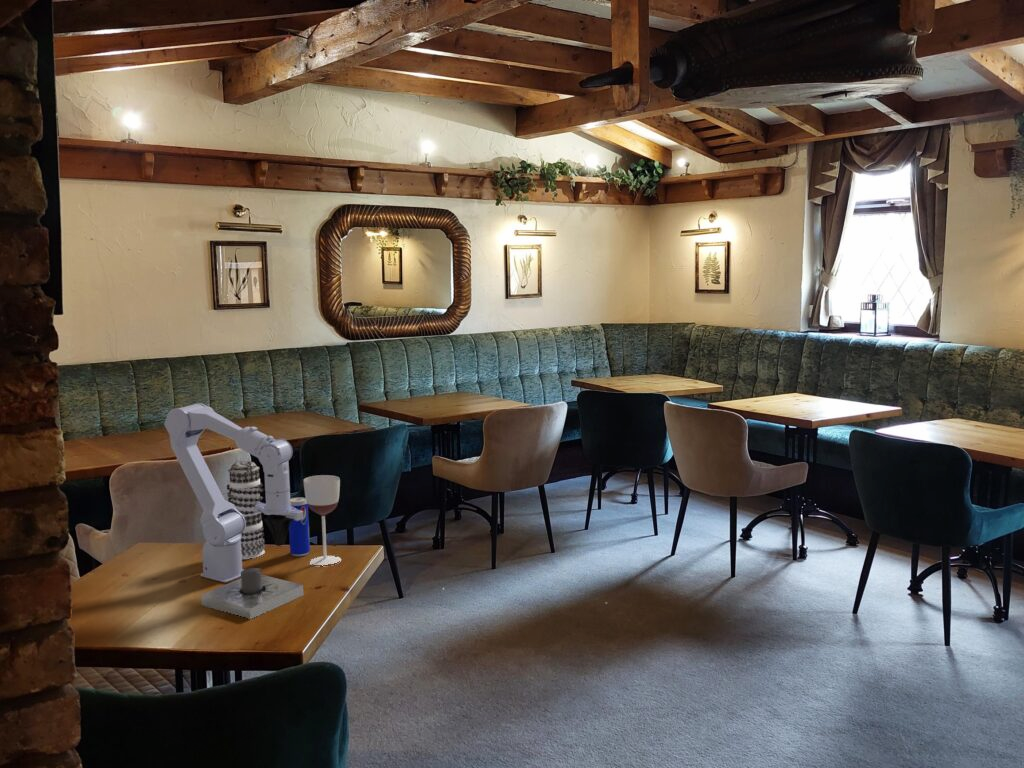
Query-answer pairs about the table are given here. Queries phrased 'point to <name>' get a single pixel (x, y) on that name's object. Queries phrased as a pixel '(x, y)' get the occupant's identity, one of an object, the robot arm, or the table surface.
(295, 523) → the beverage can
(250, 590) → the grey rounded cylinder
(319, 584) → the table surface
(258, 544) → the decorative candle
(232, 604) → the grey square plate
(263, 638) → the table surface
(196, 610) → the table surface
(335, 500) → the wineglass
